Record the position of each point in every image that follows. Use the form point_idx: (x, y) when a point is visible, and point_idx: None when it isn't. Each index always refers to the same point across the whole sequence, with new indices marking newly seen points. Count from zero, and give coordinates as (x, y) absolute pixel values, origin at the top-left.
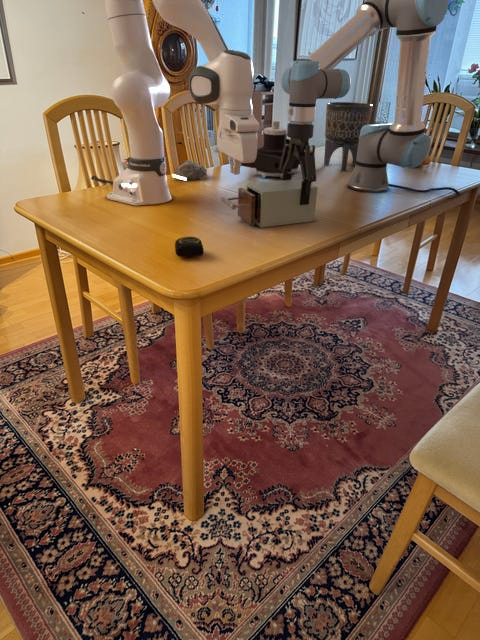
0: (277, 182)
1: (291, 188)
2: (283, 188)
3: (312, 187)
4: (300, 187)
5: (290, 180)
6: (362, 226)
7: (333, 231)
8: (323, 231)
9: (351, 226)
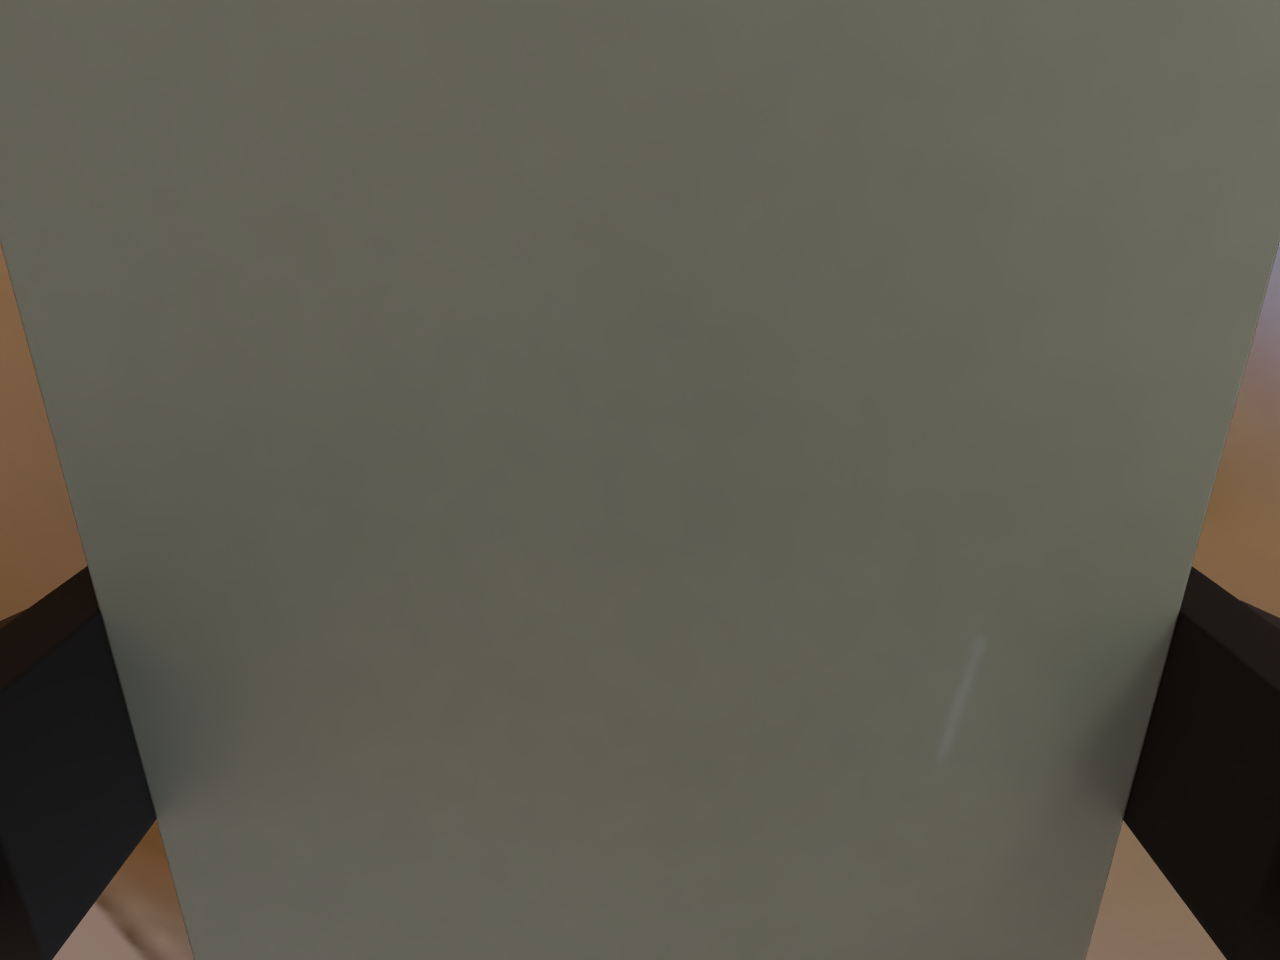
0: (1038, 291)
1: (152, 355)
2: (185, 75)
3: (186, 900)
4: (230, 653)
5: (1050, 765)
6: (135, 930)
7: (5, 607)
8: (15, 504)
9: (151, 847)
